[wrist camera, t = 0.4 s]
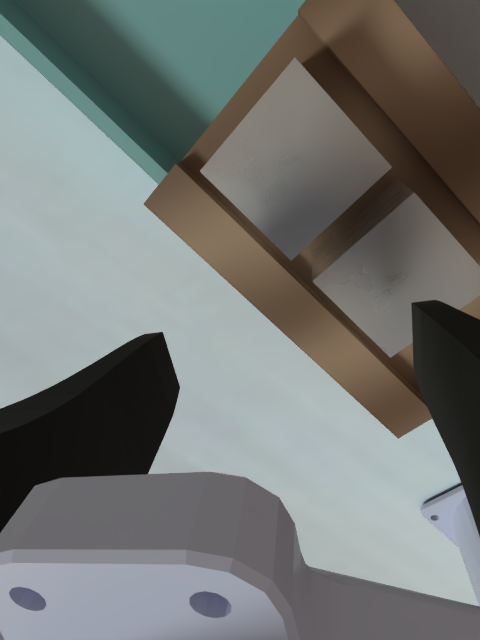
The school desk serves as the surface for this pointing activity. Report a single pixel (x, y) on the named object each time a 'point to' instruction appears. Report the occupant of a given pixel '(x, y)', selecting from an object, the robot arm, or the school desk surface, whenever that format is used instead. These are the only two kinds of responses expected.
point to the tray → (147, 62)
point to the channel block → (407, 166)
